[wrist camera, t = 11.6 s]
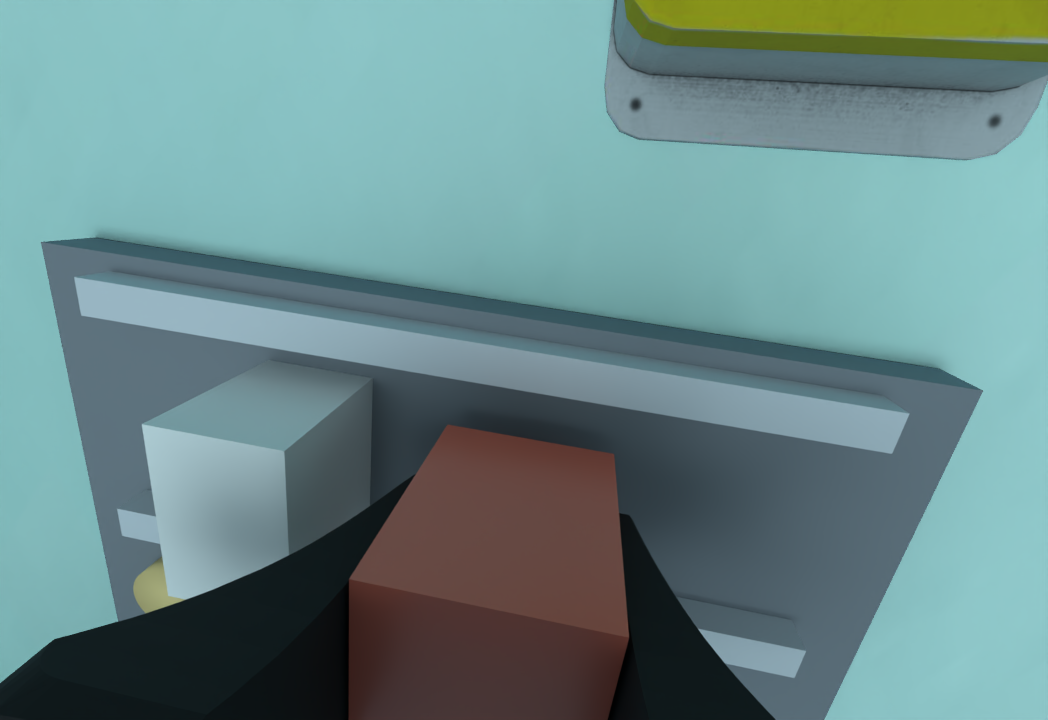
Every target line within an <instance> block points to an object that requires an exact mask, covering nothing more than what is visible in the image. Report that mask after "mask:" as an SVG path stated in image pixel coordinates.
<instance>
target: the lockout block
mask: <svg viewBox="0 0 1048 720" xmlns="http://www.w3.org/2000/svg"><path fill="white" fill-rule="evenodd" d="M628 640H629V630H628V618H627V605H626V593H625V581H624V569H623V556H622V544H621V532H620V520H619V507H618V495H617V483H616V471H615V458H614V454H612V453H606V452H600V451H595V450H589V449H583V448H578V447H572V446H566V445H561V444H555V443H549V442H544V441H538V440H533V439H527V438H521V437H516V436H510V435H504V434H499V433H493V432H487V431H482V430H476V429H470V428H465V427H459V426H453V425H447V426H446V428H445V429H444V431H443V432H442V434H441V436H440V437H439V439H438V440H437V442H436V443H435V445H434V447H433V448H432V450H431V451H430V453H429V454H428V456H427V457H426V459H425V461H424V462H423V464H422V465H421V467H420V468H419V470H418V472H417V473H416V475H415V476H414V478H413V479H412V481H411V483H410V484H409V486H408V487H407V489H406V490H405V492H404V494H403V495H402V497H401V498H400V500H399V501H398V503H397V505H396V506H395V508H394V509H393V511H392V512H391V514H390V516H389V517H388V519H387V520H386V522H385V523H384V525H383V527H382V528H381V530H380V531H379V533H378V534H377V536H376V538H375V539H374V541H373V542H372V544H371V545H370V547H369V549H368V550H367V552H366V553H365V555H364V556H363V558H362V560H361V561H360V563H359V564H358V566H357V567H356V569H355V571H354V572H353V574H352V575H351V577H350V578H349V720H608V716H609V712H610V709H611V705H612V701H613V697H614V693H615V690H616V686H617V682H618V678H619V674H620V671H621V667H622V663H623V659H624V655H625V652H626V648H627V644H628Z"/></svg>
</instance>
